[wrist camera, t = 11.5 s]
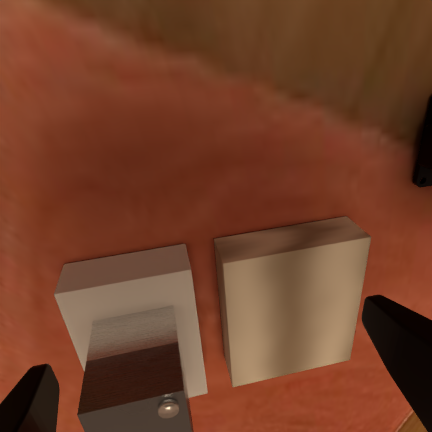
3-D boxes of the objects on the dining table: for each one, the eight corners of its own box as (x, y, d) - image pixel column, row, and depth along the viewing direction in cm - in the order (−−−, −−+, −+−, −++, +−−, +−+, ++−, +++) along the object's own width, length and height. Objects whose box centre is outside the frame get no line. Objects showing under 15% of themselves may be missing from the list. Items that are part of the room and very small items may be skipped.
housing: (173, 305, 22) (184, 396, 16) (185, 376, 25) (199, 471, 19) (92, 321, 21) (76, 421, 15) (116, 392, 24) (110, 495, 19)
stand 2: (346, 216, 25) (371, 236, 22) (331, 332, 31) (349, 359, 28) (213, 238, 23) (223, 263, 21) (224, 356, 29) (232, 387, 27)
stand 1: (185, 243, 23) (191, 269, 21) (201, 361, 29) (207, 393, 26) (63, 264, 22) (53, 294, 19) (105, 382, 28) (102, 417, 25)
